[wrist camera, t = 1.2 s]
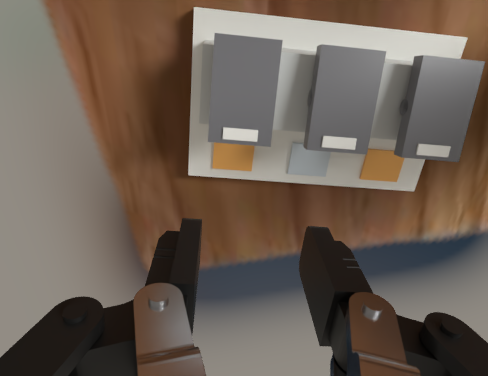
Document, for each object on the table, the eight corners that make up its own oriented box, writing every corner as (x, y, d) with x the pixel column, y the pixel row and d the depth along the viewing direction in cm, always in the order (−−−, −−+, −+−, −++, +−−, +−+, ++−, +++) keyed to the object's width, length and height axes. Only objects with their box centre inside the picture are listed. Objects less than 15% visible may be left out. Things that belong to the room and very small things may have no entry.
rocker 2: (467, 63, 26) (486, 61, 24) (444, 157, 28) (459, 162, 26) (409, 57, 26) (424, 54, 24) (390, 152, 28) (402, 157, 26)
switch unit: (453, 36, 31) (501, 41, 25) (404, 182, 37) (435, 212, 31) (195, 7, 29) (189, 6, 23) (190, 166, 35) (183, 195, 30)
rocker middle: (375, 53, 25) (387, 51, 24) (357, 150, 27) (367, 155, 25) (314, 46, 25) (322, 44, 23) (301, 145, 27) (307, 150, 25)
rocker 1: (278, 43, 25) (283, 39, 23) (267, 142, 27) (270, 147, 25) (215, 36, 24) (214, 32, 23) (208, 138, 26) (207, 142, 24)
